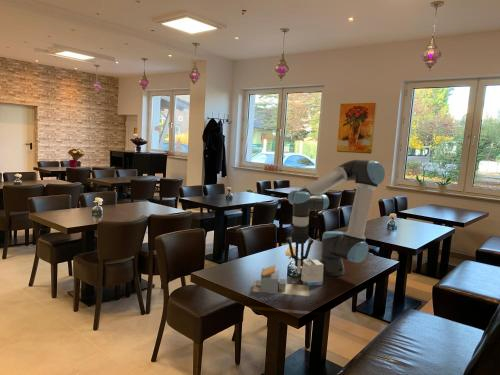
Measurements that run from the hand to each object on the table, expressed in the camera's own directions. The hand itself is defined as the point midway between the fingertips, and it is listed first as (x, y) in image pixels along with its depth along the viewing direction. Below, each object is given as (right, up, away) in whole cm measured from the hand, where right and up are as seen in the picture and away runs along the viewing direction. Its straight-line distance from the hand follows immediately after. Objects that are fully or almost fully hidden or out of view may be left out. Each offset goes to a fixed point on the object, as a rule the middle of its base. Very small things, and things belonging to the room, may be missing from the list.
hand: (298, 272), depth 179 cm
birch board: (-9, -9, +1) cm, 12 cm away
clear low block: (-13, -8, +2) cm, 15 cm away
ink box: (+8, -9, +12) cm, 17 cm away
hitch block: (-14, -8, +2) cm, 16 cm away
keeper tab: (-14, 0, +1) cm, 14 cm away
